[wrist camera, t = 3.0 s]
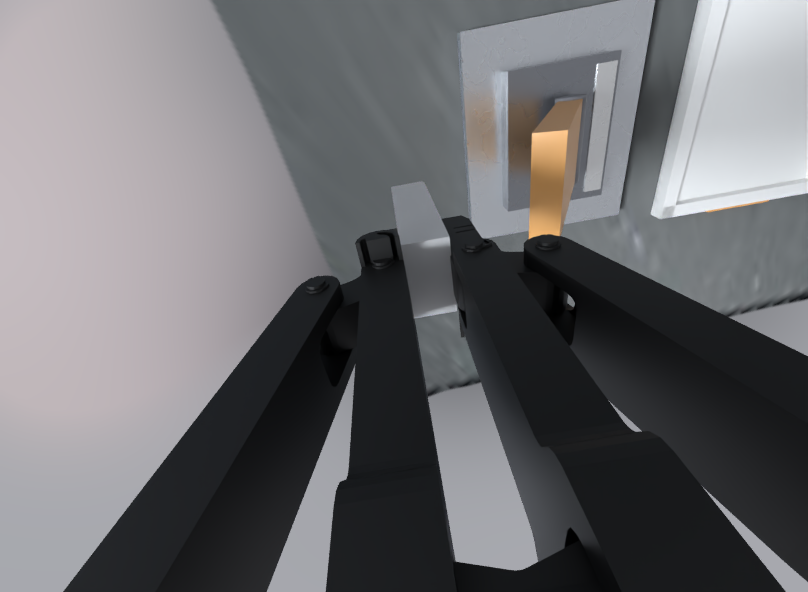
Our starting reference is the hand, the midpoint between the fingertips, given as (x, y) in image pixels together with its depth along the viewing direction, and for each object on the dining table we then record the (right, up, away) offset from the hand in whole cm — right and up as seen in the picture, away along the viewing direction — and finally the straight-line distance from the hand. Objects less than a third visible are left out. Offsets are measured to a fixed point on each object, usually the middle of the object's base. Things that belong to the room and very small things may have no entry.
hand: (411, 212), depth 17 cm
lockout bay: (+26, +11, +9) cm, 29 cm away
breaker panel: (+10, +8, +9) cm, 16 cm away
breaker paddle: (+10, +6, +6) cm, 14 cm away
